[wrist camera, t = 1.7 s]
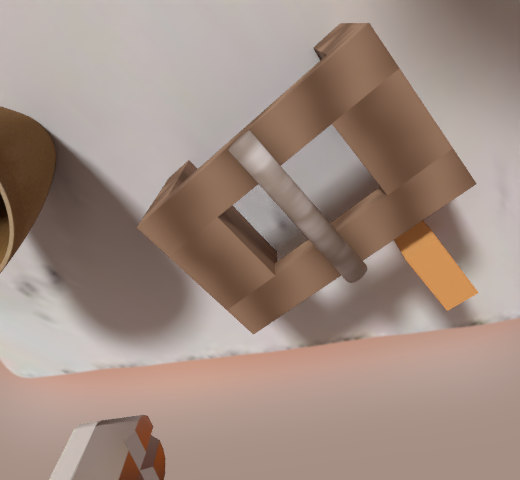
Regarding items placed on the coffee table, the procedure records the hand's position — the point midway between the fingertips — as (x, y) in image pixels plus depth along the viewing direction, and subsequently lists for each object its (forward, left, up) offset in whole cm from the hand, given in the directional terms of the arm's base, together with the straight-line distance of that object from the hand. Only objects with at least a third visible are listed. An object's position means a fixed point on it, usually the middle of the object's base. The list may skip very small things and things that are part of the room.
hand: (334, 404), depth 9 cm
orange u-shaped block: (-2, +18, -36) cm, 40 cm away
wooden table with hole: (+3, +5, -36) cm, 36 cm away
